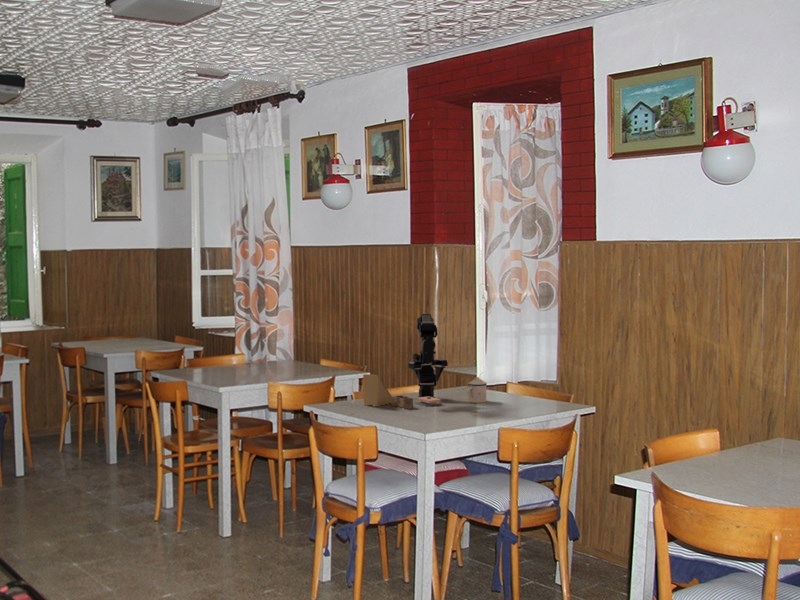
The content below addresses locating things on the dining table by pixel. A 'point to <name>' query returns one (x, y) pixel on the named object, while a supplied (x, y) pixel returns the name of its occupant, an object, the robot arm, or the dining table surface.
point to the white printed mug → (476, 391)
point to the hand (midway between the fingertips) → (428, 382)
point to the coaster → (428, 404)
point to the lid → (429, 400)
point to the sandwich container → (375, 391)
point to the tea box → (403, 401)
